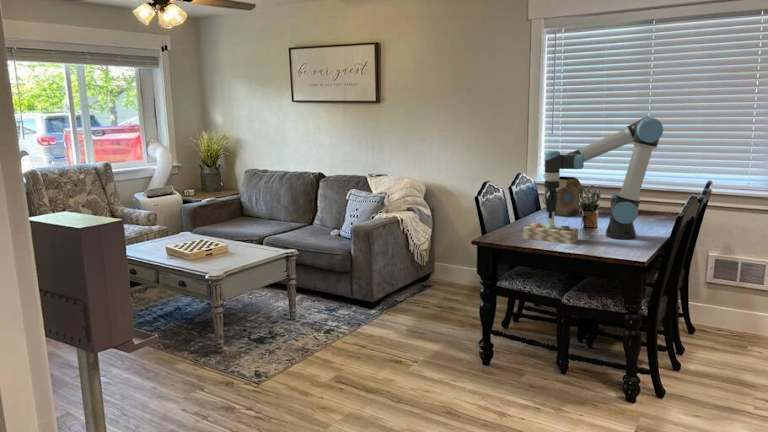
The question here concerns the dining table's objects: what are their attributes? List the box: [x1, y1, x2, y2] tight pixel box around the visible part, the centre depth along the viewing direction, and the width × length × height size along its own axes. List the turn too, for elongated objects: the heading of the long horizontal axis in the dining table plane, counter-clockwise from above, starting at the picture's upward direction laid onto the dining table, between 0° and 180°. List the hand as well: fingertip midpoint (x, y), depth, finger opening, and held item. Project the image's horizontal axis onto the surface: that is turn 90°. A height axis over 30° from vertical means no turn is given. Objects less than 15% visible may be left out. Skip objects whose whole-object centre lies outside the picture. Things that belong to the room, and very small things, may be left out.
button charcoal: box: [560, 225, 571, 231], centre depth 304 cm, size 5×5×4 cm
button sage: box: [545, 223, 556, 230], centre depth 309 cm, size 5×5×4 cm
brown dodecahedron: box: [543, 176, 584, 217], centre depth 376 cm, size 22×24×24 cm
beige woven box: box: [522, 223, 579, 245], centre depth 309 cm, size 26×12×6 cm, turn 53°
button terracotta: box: [531, 222, 542, 228], centre depth 313 cm, size 5×5×4 cm
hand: (551, 223), depth 308 cm, fingers closed
